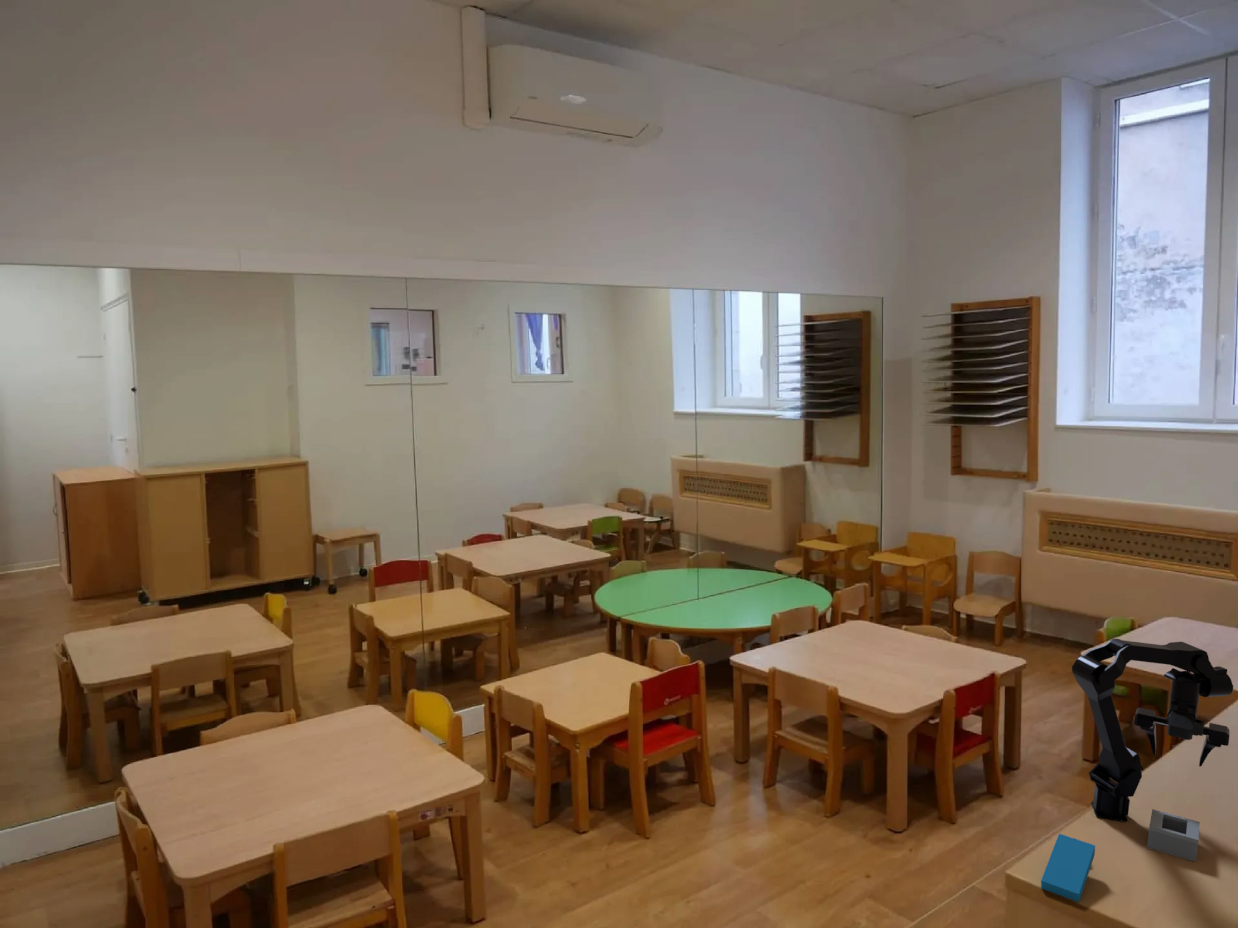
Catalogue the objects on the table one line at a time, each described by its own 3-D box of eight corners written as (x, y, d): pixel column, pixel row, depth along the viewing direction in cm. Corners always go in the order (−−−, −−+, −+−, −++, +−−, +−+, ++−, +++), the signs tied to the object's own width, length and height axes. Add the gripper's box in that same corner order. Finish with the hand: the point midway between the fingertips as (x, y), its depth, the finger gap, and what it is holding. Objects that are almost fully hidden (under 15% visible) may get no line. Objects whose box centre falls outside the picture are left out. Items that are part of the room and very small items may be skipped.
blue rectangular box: (1078, 920, 176) (1097, 859, 188) (1079, 893, 173) (1099, 833, 186) (1040, 906, 180) (1062, 847, 193) (1041, 880, 177) (1063, 822, 190)
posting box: (1195, 861, 189) (1198, 839, 188) (1147, 847, 194) (1149, 826, 193) (1197, 842, 196) (1199, 821, 195) (1149, 829, 201) (1152, 808, 200)
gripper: (1135, 698, 206) (1128, 761, 208) (1232, 718, 195) (1224, 785, 197) (1139, 683, 215) (1132, 744, 217) (1232, 702, 205) (1224, 766, 207)
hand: (1176, 760), depth 209 cm, fingers open, 9 cm apart
